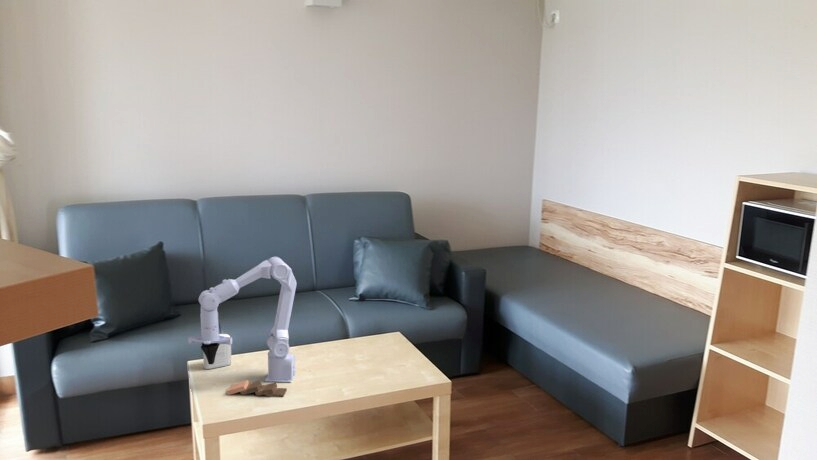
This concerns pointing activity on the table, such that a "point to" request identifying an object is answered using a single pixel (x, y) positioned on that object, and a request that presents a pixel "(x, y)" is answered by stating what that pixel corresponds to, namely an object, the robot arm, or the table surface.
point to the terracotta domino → (238, 387)
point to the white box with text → (220, 356)
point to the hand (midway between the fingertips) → (211, 363)
